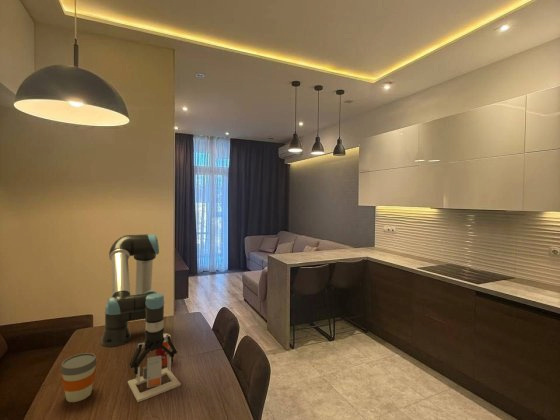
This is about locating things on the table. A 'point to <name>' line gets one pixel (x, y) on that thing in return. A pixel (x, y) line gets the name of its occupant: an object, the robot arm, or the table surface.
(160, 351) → the paper cup
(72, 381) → the reusable coffee cup
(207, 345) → the table surface
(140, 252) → the robot arm
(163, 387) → the socket board
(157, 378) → the skincare box
